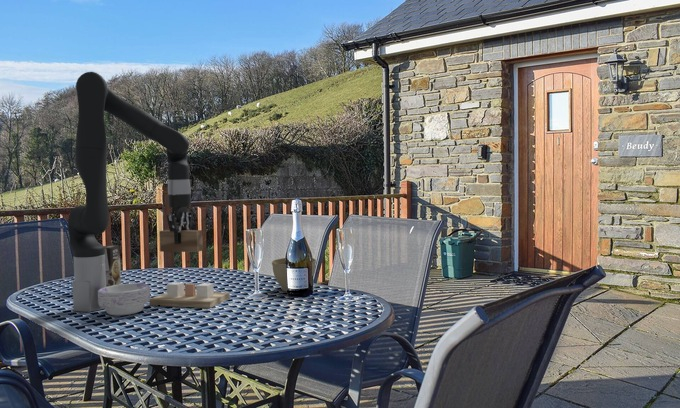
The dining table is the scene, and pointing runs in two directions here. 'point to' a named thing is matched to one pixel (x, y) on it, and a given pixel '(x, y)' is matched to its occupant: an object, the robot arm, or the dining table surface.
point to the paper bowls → (124, 298)
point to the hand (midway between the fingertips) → (181, 242)
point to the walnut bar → (189, 241)
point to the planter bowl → (284, 271)
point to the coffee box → (112, 265)
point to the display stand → (190, 296)
